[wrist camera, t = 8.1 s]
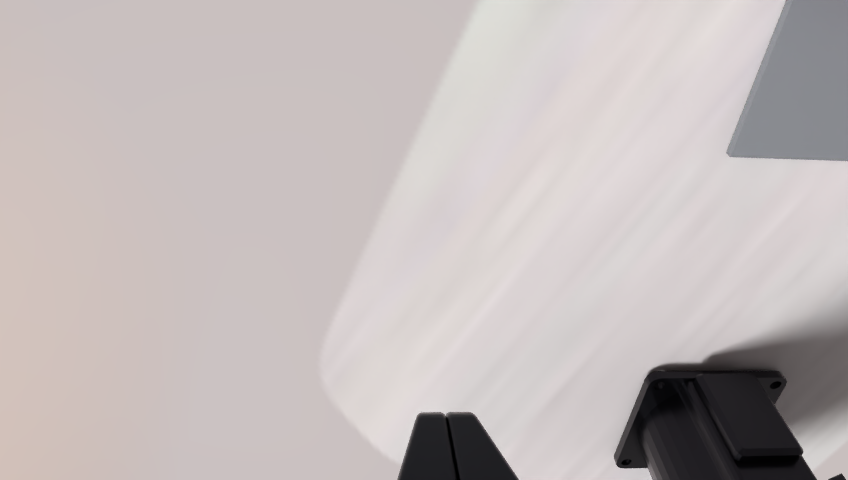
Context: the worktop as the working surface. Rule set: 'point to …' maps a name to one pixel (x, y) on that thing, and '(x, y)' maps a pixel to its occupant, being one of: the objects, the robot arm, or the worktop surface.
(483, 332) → the worktop surface
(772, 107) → the slate mat
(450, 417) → the robot arm
